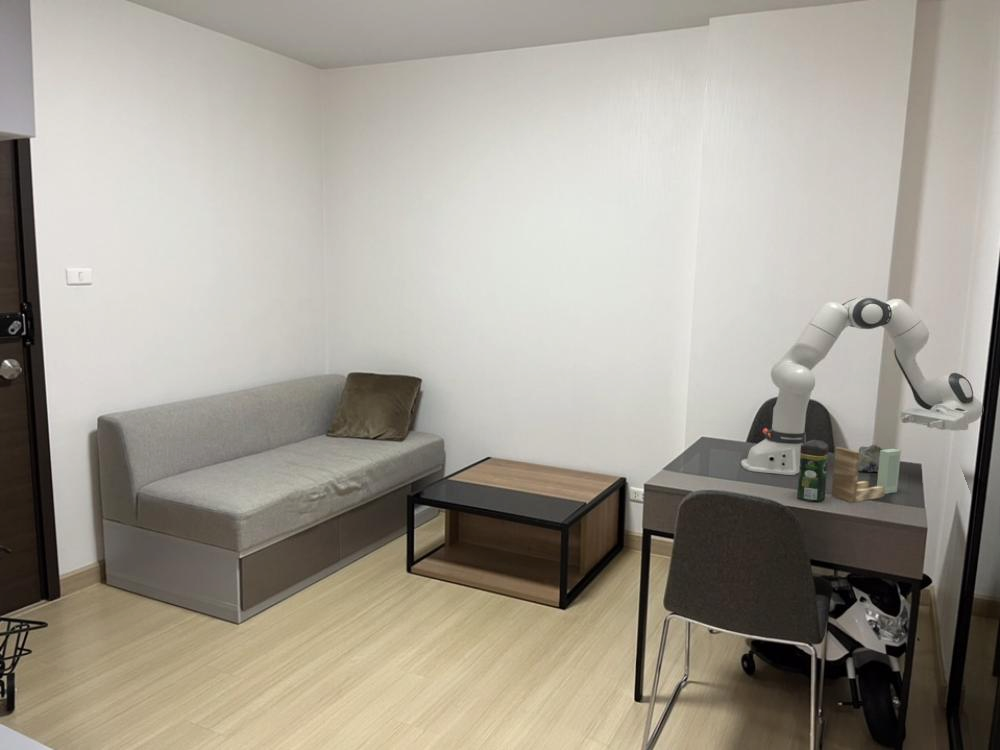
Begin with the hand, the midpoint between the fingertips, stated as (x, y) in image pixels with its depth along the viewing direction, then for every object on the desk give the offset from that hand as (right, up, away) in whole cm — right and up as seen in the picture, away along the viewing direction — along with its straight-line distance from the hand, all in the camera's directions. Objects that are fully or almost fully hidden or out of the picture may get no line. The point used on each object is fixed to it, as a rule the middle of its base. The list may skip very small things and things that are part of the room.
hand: (916, 422), depth 254 cm
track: (-23, -23, -7) cm, 34 cm away
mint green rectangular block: (-11, -23, -2) cm, 25 cm away
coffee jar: (-39, -24, -10) cm, 47 cm away
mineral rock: (-3, -19, +22) cm, 30 cm away
